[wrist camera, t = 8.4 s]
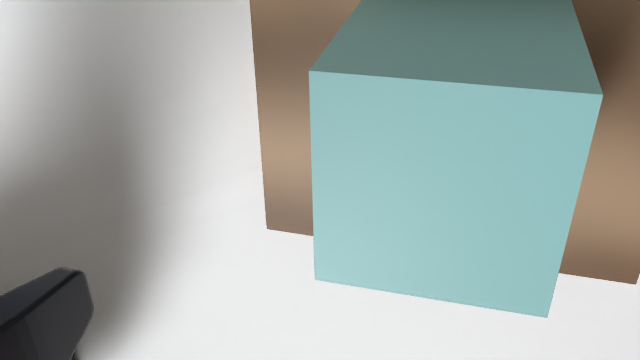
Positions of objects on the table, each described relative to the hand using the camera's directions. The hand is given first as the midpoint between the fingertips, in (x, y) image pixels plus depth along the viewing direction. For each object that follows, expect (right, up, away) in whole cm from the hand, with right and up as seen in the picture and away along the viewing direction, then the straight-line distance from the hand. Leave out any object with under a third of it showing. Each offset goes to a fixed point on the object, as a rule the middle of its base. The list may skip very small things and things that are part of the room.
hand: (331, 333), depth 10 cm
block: (+4, +5, +7) cm, 9 cm away
